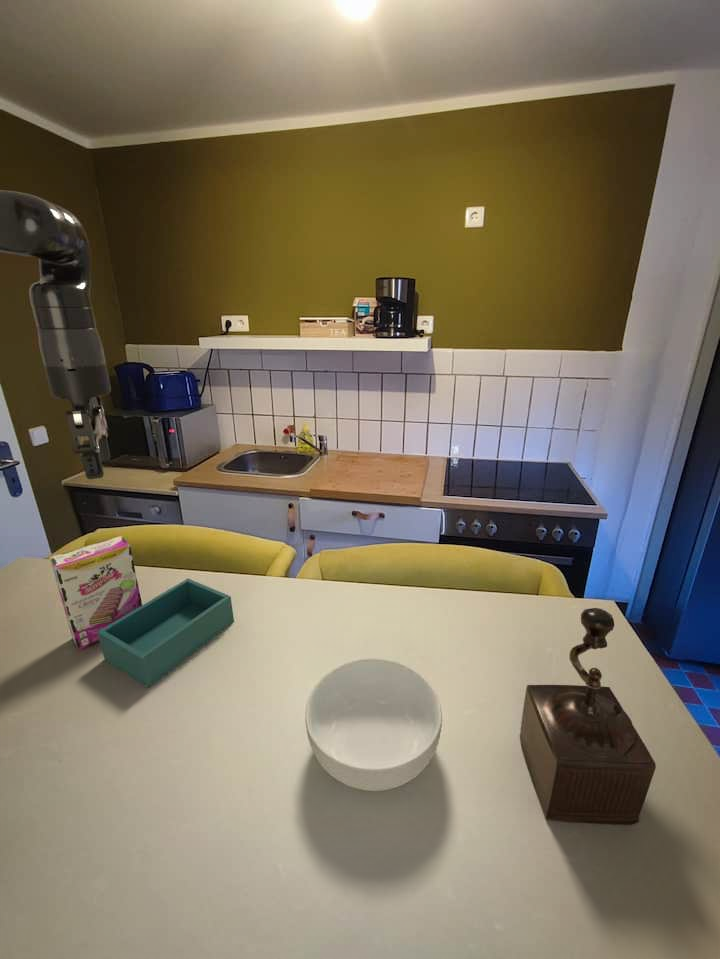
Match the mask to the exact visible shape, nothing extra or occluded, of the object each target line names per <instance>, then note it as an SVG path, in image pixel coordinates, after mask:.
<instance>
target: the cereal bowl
mask: <svg viewBox="0 0 720 959" xmlns="http://www.w3.org/2000/svg"><path fill="white" fill-rule="evenodd" d="M442 712H443V711H442V705H441V702H440V699H439V697H438V694H437V692H436V691H435V689H434V687H433V686H432V685H431V683H430V682H429V681H428V679H427V678H425V676H423V675H422V674H421V673H420V672H418V671H417V670H415V669H414V668H412V667H410V666H409V665H406V664H404V663H401V662H399V661H395V660H392V659H387V658H380V657H379V658H378V657H370V658H369V657H368V658H361V659H355V660H351V661H347V662H345V663H343V664H340V665H338V666H337V667H334V668H333V669H332V670H330V671H329V672H327V673H326V674H324V676H322V677H321V678H320V679H319V680H318V682H317V683H316V684H315V685H314V686H313V688H312V690H311V692H310V695H309V696H308V699H307V701H306V706H305V717H304V718H305V728H306V735H307V738H308V741H309V746H310V747H311V750H312V753H313V754H314V756H315V758H316V759H317V761H318V763H319V764H320V765H321V767H322V768H323V769H324V770H325V771H326V772H327V773H328V774H330V776H331V777H332V778H334V779H336V780H337V781H338V782H341V783H342V784H344V785H346V786H349V787H351V788H355V789H358V790H364V791H367V792H369V791H371V792H374V791H375V792H378V791H379V792H380V791H387V790H390V789H395V788H398V787H400V786H403V785H405V784H407V783H408V782H410V781H412V780H413V779H414V778H417V777H418V776H419V775H420V774H421V773H422V772H424V769H425V768H427V766H428V764H429V763H430V762H431V760H432V758H433V757H434V755H435V752H436V750H437V748H438V745H439V741H440V738H441V732H442V726H443V713H442Z"/></svg>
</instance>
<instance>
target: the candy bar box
mask: <svg viewBox="0 0 720 959" xmlns="http://www.w3.org/2000/svg"><path fill="white" fill-rule="evenodd" d="M49 559H50V564H51V568H52V571H53V574H54V578H55V582H56V585H57V589H58V592H59V595H60V599H61V603H62V606H63V610H64V614H65V618H66V622H67V624H68V628H69V632H70V635H71V637H72V640H73V642H74V643H75V646H76V648H77V650H78V651H81V650H83V649H86V648H88V647H90V646H92V645H94V644H96V643H100V641H99V637H98V634H97V632H98V631H100V630H101V629H103V628H105V627H106V626H108V625H110V624H111V623H113V622H115V621H117V620H118V619H120V618H122V617H123V616H125V615H127V614H128V613H130V612H132V611H133V610H135V609H137V608H139V607H140V606H142V605H143V602H142V596H141V592H140V587H139V582H138V577H137V573H136V568H135V567H136V566H135V563H134V558H133V553H132V548H131V544H130V543H129V542H128V541H127V540H126V539H125V538H124V537H123V536H122V535H120V536H117V537H113V538H110V539H106V540H103V541H100V542H97V543H93V544H90V545H87V546H83V547H80V548H77V549H73V550H69V551H67V552H63V553H60V554H56V555H53V556H50V557H49Z"/></svg>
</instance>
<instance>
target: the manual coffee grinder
mask: <svg viewBox="0 0 720 959" xmlns="http://www.w3.org/2000/svg"><path fill="white" fill-rule="evenodd" d="M580 623H581V625H582V626H583V628H584V629H585V632H586V633H585V635H584V636H583V637H582V642H583V643H580V644H577V645H575V646H573V647H572V648H571V649H570V651H569V661H570V663H571V665H572V666H573V668H574V670H575V672H577V674H578V675H579V677H580V679H581V680H582V681H583V682H584V683H585V685H579V684H578V685H577V684H576V685H575V684H526V688H525V695H524V701H523V708H522V715H521V722H520V723H521V725H520V733H519V740H520V747H521V752H522V755H523V758H524V761H525V764H526V766H527V770H528V774H529V777H530V780H531V782H532V786H533V788H534V792H535V793H536V796H537V799H538V802H539V804H540V807H541V810H542V812H543V815H544V818H545V820H550V821H557V822H563V823H578V824H579V823H581V824H599V825H619V826H620V825H621V826H623V825H624V826H632V825H634V824H636V823H639V822H640V815H641V813H642V809H643V806H644V804H645V801H646V798H647V796H648V792H649V790H650V787H651V783H652V781H653V777H654V775H655V770H656V767H657V765H656V762H655V760H654V758H653V756H652V755H651V752H650V751H649V750H648V747H647V746H646V745H645V743H644V741H643V740H642V737H641V736H640V734H639V733H638V731H637V730H636V728H635V726H634V724H633V721H632V719H631V718H630V716H629V715H628V714H627V712H626V711H625V709H624V708H623V706H622V705H621V703H620V701H619V700H618V698H617V697H616V695H615V694H614V691H612V689H611V687H610V686H602V684H601V679H602V677H603V675H602V672H601V670H600V669H598V668H597V667H591V668H590V669H588V671H587V670H586V669H585V668H584V666H583V665H582V663H581V661H580V658H579V656H580V655H581V654H584V653H585V652H587V651H589V650H598V649H604V648H607V647H608V642H607V639H606V637H607V636H608V635H609V633H611V632H612V631H613V630H614V628H615V619H614V617H613V615H612V614H611V613H610V612H609V611H607V610H604V609H602V608H599V607H592V608H585V609H584V610H583V611H582V612H581V614H580Z"/></svg>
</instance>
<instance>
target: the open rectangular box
mask: <svg viewBox="0 0 720 959" xmlns="http://www.w3.org/2000/svg"><path fill="white" fill-rule="evenodd" d="M234 622H235V617H234V611H233V603H232V596H231V595H229V594H227V593H224V592H221V591H219V590H217V589H214V588H213V587H210V586H207V585H205V584H203V583H200V582H198V581H195V580H193V579H190V578H186V579H184V580H183V581H180V582H179V583H177V584H175V585H174V586H173V587H171V588H169V589H168V590H165V591H164V592H162V593H160V594H159V595H157V596H156V597H153V598H152V599H150V600H149V601H147V602H145V603H144V604H142V606H140V607H139V608H137V609H135V610H133V611H132V612H130V613H128V614H127V615H125V616H123V617H122V618H120V619H118V620H117V621H115V622H113V623H111V624H110V625H108V626H106V627H105V628H103V629H101V630H100V631H98V632H97V634H98V637H99V644H100V648H101V652H102V655H103V659H104V661H106V662H107V663H110V664H111V665H112V666H114V667H115V668H117V669H119V670H120V671H121V672H123V673H125V674H126V675H128V676H129V677H131V678H133V679H134V680H136V681H137V682H139V683H140V684H142V685H144V686H145V687H146V688H150V687H151V686H152V685H154V684H155V683H156V682H158V681H159V680H160V679H161V678H163V677H164V676H166V675H167V674H168V673H170V672H171V671H172V670H173V669H175V668H176V667H177V666H179V665H180V664H182V662H184V661H185V660H186V659H188V658H189V657H190V656H192V655H193V654H194V653H196V651H198V650H199V649H200V648H202V647H203V646H205V645H206V644H207V643H208V642H209V641H211V640H212V639H213V638H215V637H216V636H217V635H219V634H220V633H221V632H223V631H224V630H225V629H226V628H228V627H229V626H231V624H234Z"/></svg>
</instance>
